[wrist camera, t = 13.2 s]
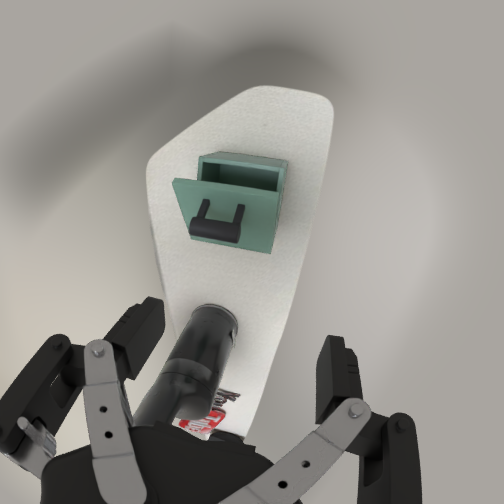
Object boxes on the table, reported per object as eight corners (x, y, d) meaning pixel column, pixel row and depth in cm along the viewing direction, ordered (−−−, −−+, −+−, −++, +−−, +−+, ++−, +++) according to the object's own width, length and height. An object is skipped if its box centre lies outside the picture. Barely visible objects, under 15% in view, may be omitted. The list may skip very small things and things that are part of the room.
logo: (208, 391, 57) (246, 400, 60) (208, 385, 58) (245, 395, 61) (176, 429, 66) (207, 436, 69) (176, 424, 67) (207, 431, 70)
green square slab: (174, 177, 25) (155, 217, 23) (279, 192, 24) (270, 236, 22) (193, 234, 35) (181, 267, 33) (271, 248, 34) (264, 284, 32)
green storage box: (218, 151, 38) (198, 156, 31) (288, 161, 37) (285, 168, 30) (212, 215, 43) (193, 235, 35) (277, 227, 42) (271, 249, 34)
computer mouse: (245, 447, 67) (248, 437, 71) (210, 435, 68) (214, 425, 72) (239, 454, 69) (242, 445, 73) (206, 443, 70) (210, 434, 74)
